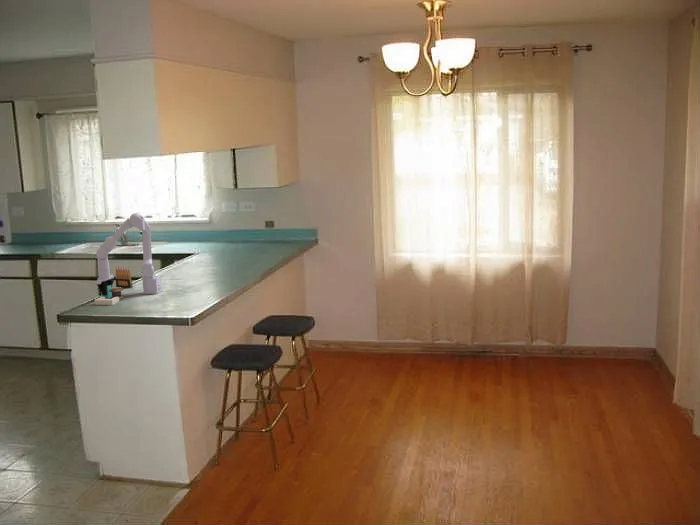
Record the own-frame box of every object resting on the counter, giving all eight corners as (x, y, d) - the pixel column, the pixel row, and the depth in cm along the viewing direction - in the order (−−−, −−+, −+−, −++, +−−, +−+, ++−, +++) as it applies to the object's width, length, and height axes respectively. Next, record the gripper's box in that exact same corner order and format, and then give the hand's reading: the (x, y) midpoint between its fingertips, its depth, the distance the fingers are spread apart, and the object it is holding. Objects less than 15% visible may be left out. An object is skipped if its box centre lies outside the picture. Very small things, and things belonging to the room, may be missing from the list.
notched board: (119, 301, 365) (118, 296, 365) (112, 304, 358) (112, 300, 358) (102, 301, 367) (101, 296, 367) (95, 304, 360) (94, 300, 360)
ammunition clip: (116, 287, 399) (113, 266, 397) (118, 286, 401) (116, 266, 399) (130, 288, 395) (128, 267, 393) (132, 287, 397) (130, 267, 394)
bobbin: (126, 296, 375) (125, 288, 374) (119, 299, 368) (118, 291, 367) (114, 296, 376) (113, 287, 375) (107, 299, 370) (106, 291, 369)
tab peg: (112, 295, 378) (111, 285, 377) (108, 297, 374) (107, 286, 373) (105, 295, 379) (104, 285, 378) (101, 297, 375) (100, 286, 374)
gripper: (104, 267, 381) (106, 290, 384) (89, 272, 367) (92, 297, 370) (115, 267, 380) (118, 291, 383) (102, 272, 366) (104, 297, 369)
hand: (106, 294), depth 376 cm, fingers closed on tab peg, 4 cm apart
